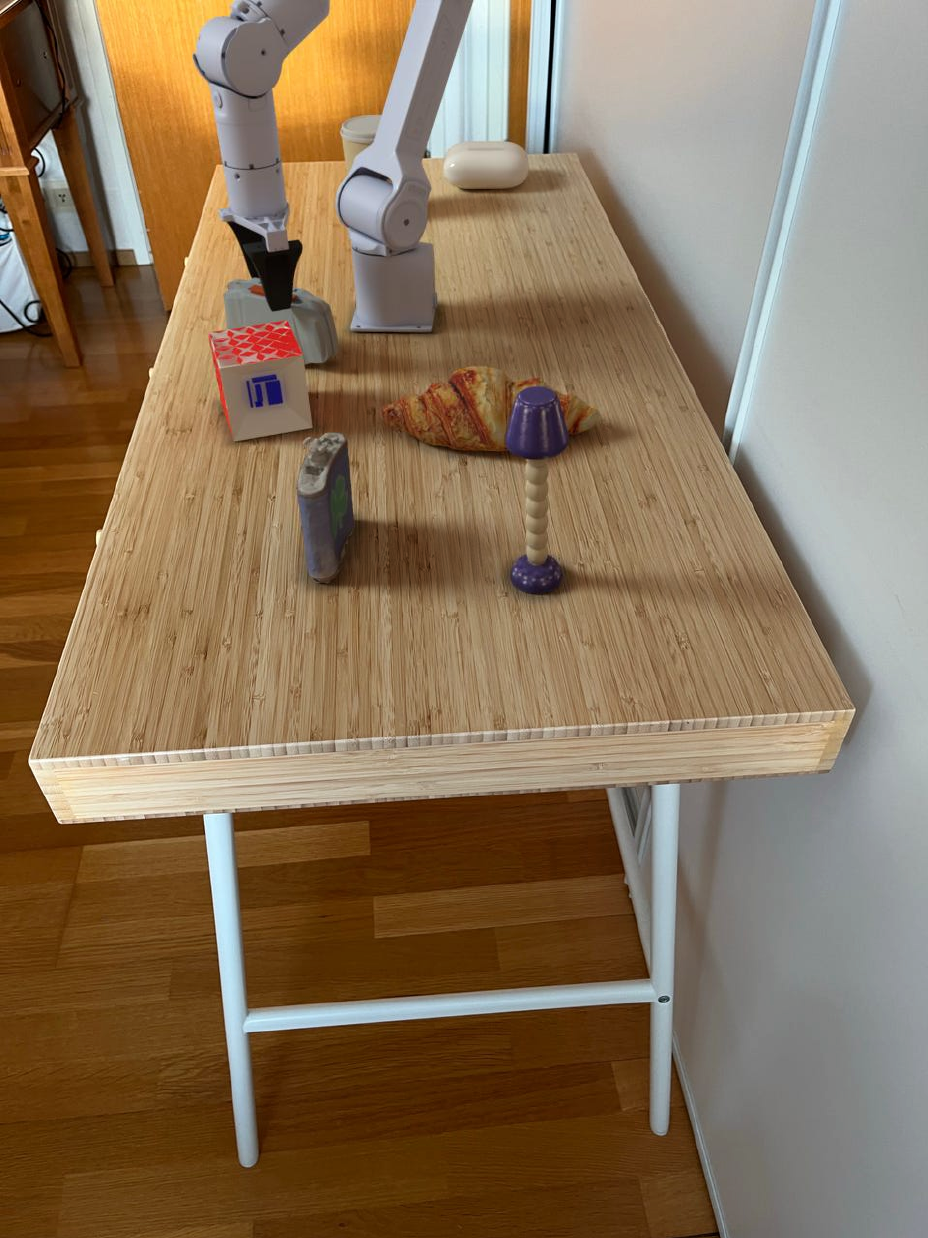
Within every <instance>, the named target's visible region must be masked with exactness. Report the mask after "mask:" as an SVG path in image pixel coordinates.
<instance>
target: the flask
mask: <svg viewBox="0 0 928 1238" xmlns="http://www.w3.org/2000/svg"><path fill="white" fill-rule="evenodd" d="M311 440H312V441H311ZM310 441H311V442H310ZM309 442H310V443H309ZM302 445H303V446H302V449H303V450H306V445H308V449H309V450H308V452H307V454H306V456H305V457H304V458H303V462H302V463H301V466H300V468H299V472H298V476H297V479H296V487H295V490H296V496H297V504H298V509H299V515H300V523H301V528H302V530H301V531H302V532H301V533H302V537H303V544H304V553H305V560H306V566H307V568H306V570H307V574H308V577H309V579H310V581H311V582H313V583H315V584H322V583H324V584H330V583H331V581H333V579H335V578H336V576H337V575H338V573H339V572H340V568H339V566H340V563H341V562H342V560H344V557H345V556H346V548H345V546H346V545H347V544H349V538H350V536H352V535H353V534H352V533H353V532H354V531H355V528H356V524H355V515H354V503H353V491H352V482H351V468H350V457H349V443H348V438H347V437H346V435H345V434H344V433H341V432H327V433H326V432H325V433H324V434H323V435H322V436H320V437H319V438H318V437H316V438H314V439H313V437H311V436H309V437H306V438H305V439H304V440H303V441H302Z"/></svg>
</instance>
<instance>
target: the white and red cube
mask: <svg viewBox="0 0 928 1238" xmlns="http://www.w3.org/2000/svg"><path fill="white" fill-rule="evenodd" d="M207 334H208V342H209V347H210V350H211V356H212V363H213V367H214V369H215V370H214V371H215V377H216V382H217V386H218V391H219V392H218V393H219V398H220V402H221V406H222V410H223V412H224V415H225V418H226V421H227V425H228V429H229V431H230V436H231V438H232V442H233V443H235V442H242V441H247V440H251V439H258V438H263V437H268V436H274V435H280V434H281V435H282V434H285V433H291V432H296V431H302V430H309V429H313V428H314V425H313V418H312V411H311V406H310V405H311V404H310V397H309V390H308V381H307V375H306V364H304V357H303V353H302V351H301V349H300V347H299V345H298V343H297V340H296V338H295V336H294V334H293V332H292V329H291V327H290V325H289V323H288V321H281V322H274V323H267V324H260V325H254V326H247V327H241V328H234V329H227V328H226V329H222V330H215V331H208V332H207Z"/></svg>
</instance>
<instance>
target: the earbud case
mask: <svg viewBox="0 0 928 1238" xmlns="http://www.w3.org/2000/svg"><path fill="white" fill-rule="evenodd" d="M528 157H529V156H528V153H527V152H526V150H525V149H524V148H523V147H522V146H521V145H519V144H517V143H515V142H512V141H505V140H488V141H487V140H484V141H483V140H481V141H479V140H477V141H476V140H474V141H462V142H458V143H455V144H453V145H452V146H450V147H449V148H448V149H447V150H446V152H445V153H444V155H443V162H442V173H443V177H444V179H445V180H446V182H448V183H449V184H450V185H452V186H453V187H455V188H459V189H463V190H504V189H505V190H506V189H511V188H516V187H517V186H520V185H521V184H522V183H523V182H525V180H526V179H527V178H528V176H529V171H530V167H529V166H530V165H529V158H528Z"/></svg>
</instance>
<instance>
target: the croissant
mask: <svg viewBox="0 0 928 1238" xmlns="http://www.w3.org/2000/svg"><path fill="white" fill-rule="evenodd" d="M532 386H543V387H548V388H550V389H552V390H553V391H554V392H555V393H556V394H557V396H558V398H559V401H560V405H561V409H562V412H563V416H564V419H565V424H566V427H567V431H568V435H578V434H581V433H583V432H585V431H588V430H590V429H592V428H593V427H594V426H595V425H596V424H597V423H598V421H599V419H600V416H601V414H600V411H599V410H598V409H597V408H596V407H591V406H590V405H588V403H587V402H586V401H584V400H582V398H580V397H577V396H578V395H576V394H574V393H568V394H563V393H561V392H560V391H559V390H558V389H555V388H553V387H551V386H550V385H549V384H548V383H547V382H545V381H542V380H541V378H540V376H537V377H533V378H529V379H525V380H516V381H513V380H512V378H510V377H509V376H508V375H507V374H506V373H505V372H504V371H503V370H501V369H499V368H496V367H493V366H492V367H489V366H488V365H487V366H486V365H482V366H481V365H480V366H477V365H470V366H467V367H461V368H459V369H458V370H455V371H453V372H452V375H451V377H450V378H449V380H448V381H437V382H433V383H431V384H430V385H429V387H428V388H427V390H426V391H425V392H424V393H422V394H421V395H420V396H419V394H416V393H412V394H407V395H404V396H403V397H401V398H399V399H398V400H396V401H395V402H394V403H385V404H382V405H381V414H382V418H383V419H384V420H385V422H386V424H387V425H389V426H390V427H392V428H394V429H397V430H401V431H402V432H405V433H406V434H410V435H411V436H413V437H414V438H416V439H417V440H419V441H421V442H423V443H424V444H430V445H431V446H441V447H448V448H450V449H453V450H457V451H465V452H466V451H467V452H468V451H469V452H478V451H484V452H508V451H509V450H508V448H507V446H506V443H505V436H506V431H507V427H508V424H509V420H510V416H511V413H512V409H513V405H514V402H515V399H516V396H517V394H518V393H519V392H520V391H521V390H523V389H525V388H527V387H532Z"/></svg>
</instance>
